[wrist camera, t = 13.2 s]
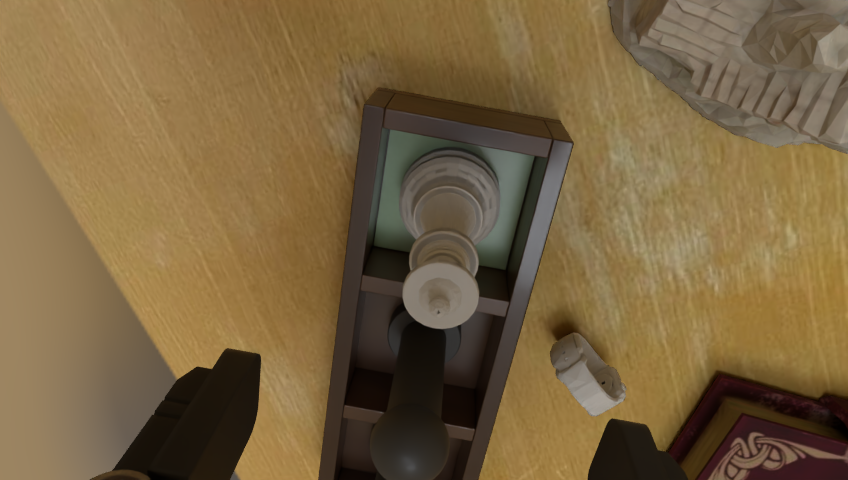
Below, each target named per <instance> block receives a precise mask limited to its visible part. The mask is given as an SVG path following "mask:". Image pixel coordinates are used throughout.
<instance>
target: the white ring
mask: <svg viewBox="0 0 848 480" xmlns="http://www.w3.org/2000/svg"><path fill="white" fill-rule="evenodd" d="M550 357H551V362H552V365H553V367H555V368H556V376H557V378H558V379H559V380H560V381H562V382H563V383H564V384H565V385H566V386H567V387H568V389H569V390H570V392H571V394H572V395H573V396H574V397H575V399H576V400H577V401H578V402H579V403H580V404H581V405H582V406H583V407H584V408H585V409H586V410H587V412H588V414H589V415H591V416H598V415H600V414H602V413H603V412H605V411H607V410H609V409H610V408H612V407H614V406H616V405H617V404H619V403H621V402H623V400H624V399H625V397H626V394H625V390H626V386H625V385H624V384H623V383H622V382H621V379H620V376H619V374H618V372H617V370H616V369H615V368H613V367H609V365H606V364H605V363H604V361H602V359H601V358H600V357H599V355H598V354H597V353H596V352H595V351H594V349H593V348H592V347H591V346H590V344H589V343H588V342H587V340H586V339H585V338H583V337H582V336H581V335H580V334H579V333H571V334H569V335H567V336H565V337H563V338H561V339H560V340H559V341H557V342H556V343H555V344H554V345H553V346H552V349H551V351H550Z"/></svg>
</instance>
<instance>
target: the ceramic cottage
mask: <svg viewBox="0 0 848 480" xmlns="http://www.w3.org/2000/svg"><path fill="white" fill-rule="evenodd" d="M608 6H609V7H611V11H610V14H611V18H612V25H613V28H614V31H613V32H614V33H615V35H616V37H617V39H618V40H619V41H620V42H621V44H622V46H623V47H624V48H625V49H626V51H628V52H631V54H632V55H633V57H634V59H635V60H636V62H637V63H638V64H639V65H640V66H642V65H643V66H644V67H645V68H646V69H647V70H649V71H650V72H651V73H653V74H654V75H655V76H656V78H657V79H658V80H661V81H662V82H663V83H664V84H665V85H666V86H667V87H669V88H670V89H672V90H673V91H675V92H676V93H677V94H679V95H680V96H681V97H682V99H683V100H685V101H686V102H688V103H689V105H690V106H691V107H692V108H693V109H694V110H696V111H698V112H699V113H701V114H702V117H706V119H708V120H712V121H714V122H716V123H717V124H718V125H719V126H721V127H723V128H725V129H726V130H728V131H730V132H731V133H733V134H734V135H739V136H744V137H747V138H749V139H752V140H754V141H757V142H760V143H763V144H767V145H770V146H773V147H780V146H782V145H785V144H792V145H799V144H802V143H804V142H805V143H815V144H823V145H825V146H827V147H829V148H831V149H834V150H837V151H840V152H843V153H846V154H848V0H609V2H608Z"/></svg>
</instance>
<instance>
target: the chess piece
mask: <svg viewBox="0 0 848 480" xmlns="http://www.w3.org/2000/svg"><path fill="white" fill-rule="evenodd" d="M500 199H501V196H500V189H499V183H498V180H497V178H496V175H495V173H494V171H493V169H492V168H491V167H490V166H489V165H488V163H487V162H486V161H485V160H484V159H482V158H481V157H480V156H478V155H477V154H475V153H474V152H471V151H468V150H465V149H462V148H455V147H444V148H439V149H434V150H432V151H430V152H428V153H425V154H423V155H422V156H421V157H419V158H418V159H417V160H416V161H415V162H413V163H412V165H411V166H410V168H409V169H408V171H407V172H406V174H405V176H404V179H403V182H402V185H401V188H400V195H399V210H400V215H401V219H402V221H403V223H404V225H405V227H406V229H407V230H408V232H409V233H410V234H411V235H412V236H413V237H414V238H415V239H416V241H415V242H414V244H413V246H412V249H411V251H410V256H409V266H410V270H411V271H410V273H409V274H408V275H407V277H406V279H405V282H404V284H403V294H402V297H403V301H404V305H405V307H406V309H407V311H408V313H409V314H410V315H411V316H412V317H413V318H414V319H415V320H416V321H418V322H419V323H421V324H423V325H425V326H428V327H431V328H438V329H446V328H453V327H455V326H458V325H461V324H462V323H464V322H465V321H466V320H468V319H469V318H470V317H471V315H472V314H473V313H474V312H475V309H476V307H477V305H478V300H479V289H478V284H477V282H476V280H475V278H474V277H475V275H476V273H477V270H478V263H479V258H478V252H477V249H476V247H475V245H477V244H478V243H479V242H481V241H482V240H483V239H485V238H486V237H487V236H488V234H489V233H490V232H491V231H492V229H493V228H494V226H495V224H496V222H497V219H498V217H499V210H500Z"/></svg>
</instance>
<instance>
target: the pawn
mask: <svg viewBox="0 0 848 480" xmlns="http://www.w3.org/2000/svg"><path fill="white" fill-rule="evenodd" d="M387 337H388V343H389V346H390V348H391V350H392V351H393V353H394V354H395V355H396V356H397V361H396V366H395V371H394V376H393V381H392V387H391V392H390V397H389V402H388V407H387V411H386V412H385V413H384V414H383V415H382V416H381V417H380V418H379V419H378V421H377V422H376V424H375V426H374V428H373V431H372V434H371V439H370V453H371V457H372V461H373V463H374V465H375V467H376V469H377V470H378V472H379V473H380V474H381V475H382V476H383V477H384V478H385V479H386V480H433V479H434V478H435V477H437V476H438V474H439V473H440V472H441V471H442V469H443V468H444V466H445V464H446V462H447V459H448V456H449V449H450V441H449V435H448V431H447V428H446V426H445V424H444V422H443V421H442V420H441V412H442V398H443V384H444V369H445V363H447V362H448V361H450V360H451V359H452V358H453V357H454V356H455V355H456V353H457V352H458V350H459V347H460V344H461V325H458V326H455V327H453V328H446V329H438V328H431V327H428V326H425V325H423V324H421V323H419V322H418V321H416V320H415V319H414V318H413V317H412V316H411V315H410V314H409V313H408V311H407V309H406V307H405V305H404V302H403V303H402V304H400V305H399V306H398V307H397V308H396V310H395V311H394V312H393V314H392V316H391V320H390V324H389V328H388V334H387Z"/></svg>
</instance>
